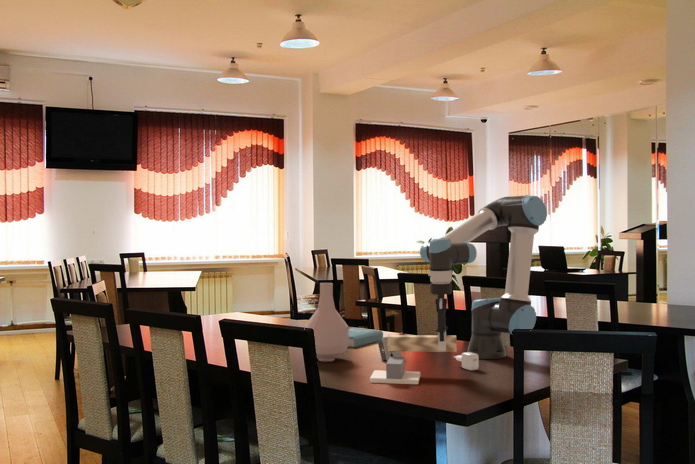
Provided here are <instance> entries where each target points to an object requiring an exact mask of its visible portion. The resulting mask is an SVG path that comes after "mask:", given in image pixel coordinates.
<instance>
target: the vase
mask: <svg viewBox="0 0 695 464" xmlns="http://www.w3.org/2000/svg"><path fill="white" fill-rule="evenodd" d="M333 287H334V283H332V282H320V283H319V300H318V306H317V309H316V310H315V312H314V313H313V314H312V315H311V317H310V318H309V320H308V321H307V322H306V323H305V325H304V329H305V328H312V329H313V330H314V336H315V345H316V353H317V356H316V357H317V359H318V361H320V362H333V361H335V360H336V359H335V358H336V357H338V356H339V355H341V354H343V353H345V352H346V351H347V349H348V347H347V346H348V344H349V332H348V329H349V325H348V324H347V323H346V321H345V319H343V317H342V316H341V315H340V313H339V312H338V310H337V309H336V306H335V302H334V295H333V294H334V292H333V291H334V290H333V289H334V288H333Z"/></svg>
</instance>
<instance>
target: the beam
mask: <svg viewBox="0 0 695 464" xmlns="http://www.w3.org/2000/svg"><path fill="white" fill-rule="evenodd" d="M386 337H387V339H388V351H401V352H422V353H423V352H427V353H428V352H430V353H431V352H432V353H433V352H436V353H441V352H443V353H447V352H448V353H457V350H458V349H457V346H458V345H457V335H447V334H446V351H442V350H438V334H437V335H429V334H428V335H427V334H426V335H425V334H423V335H422V334H420V335H419V334H417V335H415V334H402V335H401V334H388V335H387V336H386Z"/></svg>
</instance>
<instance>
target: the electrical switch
mask: <svg viewBox="0 0 695 464" xmlns="http://www.w3.org/2000/svg"><path fill="white" fill-rule="evenodd" d="M387 337H388V336H385V337H384V336H383V338H382V340H380V341H378V342H377V345H378V349H379V353H380V354H379V355H380V357H381V361H388V360H389V358H390V357H403V356H402V351H388V339H387Z"/></svg>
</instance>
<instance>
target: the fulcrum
mask: <svg viewBox="0 0 695 464" xmlns="http://www.w3.org/2000/svg"><path fill="white" fill-rule="evenodd" d="M405 358H406V357H404V356H402V357H390V358H389V360H388V361H387V360H386V361H387V362H386V370H379V369H378V370H375V369H374V371H373V372H372V374H371V375H370V377H369V383H371V384H372V383H374V384H375V383H376V384H395V385H396V384H398V385H399V384H400V385H419V383H420V378H421V371H406V370H405V366H406V365H405Z"/></svg>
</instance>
